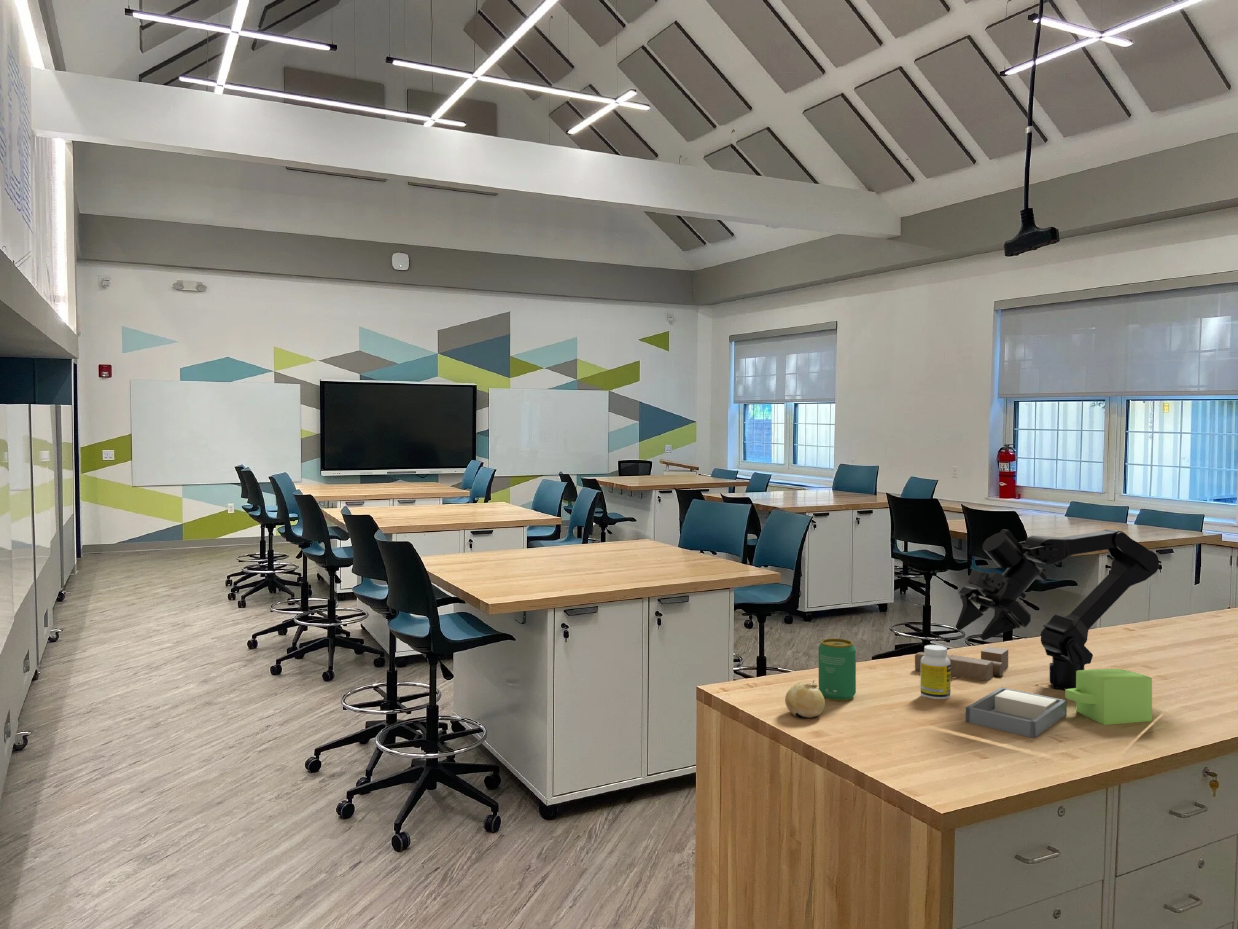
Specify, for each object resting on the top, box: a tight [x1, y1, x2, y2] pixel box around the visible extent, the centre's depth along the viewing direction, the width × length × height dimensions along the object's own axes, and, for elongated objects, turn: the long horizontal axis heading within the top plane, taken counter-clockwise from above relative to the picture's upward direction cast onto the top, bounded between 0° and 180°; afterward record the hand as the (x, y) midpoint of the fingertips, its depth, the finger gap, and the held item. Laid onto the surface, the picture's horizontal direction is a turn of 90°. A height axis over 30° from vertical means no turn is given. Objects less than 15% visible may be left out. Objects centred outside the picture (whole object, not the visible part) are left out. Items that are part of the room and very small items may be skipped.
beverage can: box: [818, 638, 857, 702], centre depth 189 cm, size 8×8×12 cm
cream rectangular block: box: [995, 690, 1057, 719], centre depth 175 cm, size 6×10×3 cm, turn 45°
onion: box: [784, 680, 826, 718], centre depth 177 cm, size 8×8×7 cm
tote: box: [965, 686, 1068, 739], centre depth 172 cm, size 18×13×4 cm
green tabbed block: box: [1064, 668, 1153, 726], centre depth 174 cm, size 18×10×10 cm, turn 99°
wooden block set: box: [914, 646, 1009, 682], centre depth 209 cm, size 17×6×18 cm
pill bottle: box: [920, 644, 951, 700], centre depth 188 cm, size 6×6×11 cm
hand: (969, 633), depth 189 cm, fingers open, 9 cm apart
